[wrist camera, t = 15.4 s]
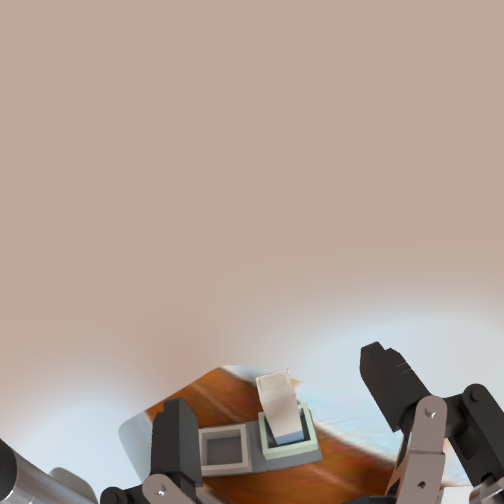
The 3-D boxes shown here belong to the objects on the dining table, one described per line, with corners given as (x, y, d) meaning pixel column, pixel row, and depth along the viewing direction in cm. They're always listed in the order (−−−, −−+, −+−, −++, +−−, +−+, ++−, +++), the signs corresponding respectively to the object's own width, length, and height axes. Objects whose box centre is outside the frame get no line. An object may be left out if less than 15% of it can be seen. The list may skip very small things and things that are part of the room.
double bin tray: (201, 477, 28) (193, 470, 27) (202, 429, 36) (196, 420, 35) (322, 460, 28) (322, 453, 27) (310, 411, 36) (308, 401, 35)
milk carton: (278, 448, 31) (258, 397, 25) (273, 428, 34) (253, 372, 28) (304, 441, 31) (294, 388, 25) (298, 421, 34) (286, 363, 28)
